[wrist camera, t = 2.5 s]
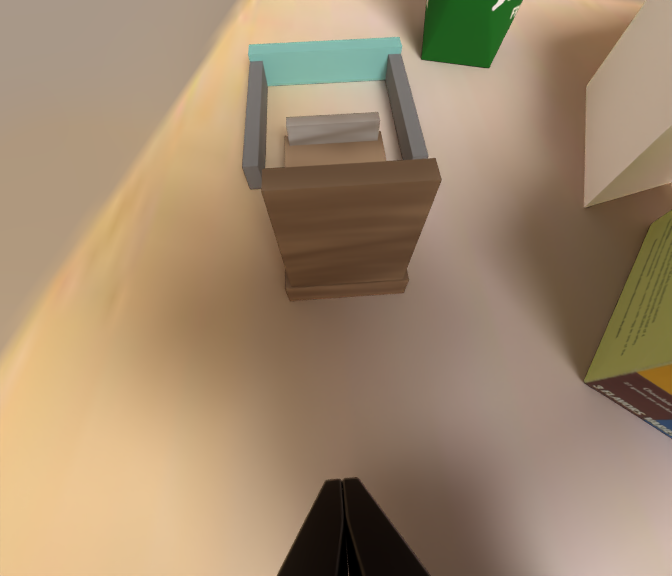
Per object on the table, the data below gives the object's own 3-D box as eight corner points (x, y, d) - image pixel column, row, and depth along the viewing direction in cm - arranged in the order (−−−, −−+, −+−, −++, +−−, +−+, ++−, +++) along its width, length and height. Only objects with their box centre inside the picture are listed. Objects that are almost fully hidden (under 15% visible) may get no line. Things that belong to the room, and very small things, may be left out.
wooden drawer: (402, 294, 23) (451, 181, 13) (290, 302, 23) (251, 193, 13) (377, 152, 29) (398, 0, 19) (288, 157, 29) (261, 7, 19)
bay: (421, 178, 27) (430, 149, 24) (250, 189, 27) (239, 160, 24) (394, 69, 33) (399, 37, 31) (256, 76, 33) (249, 44, 30)
